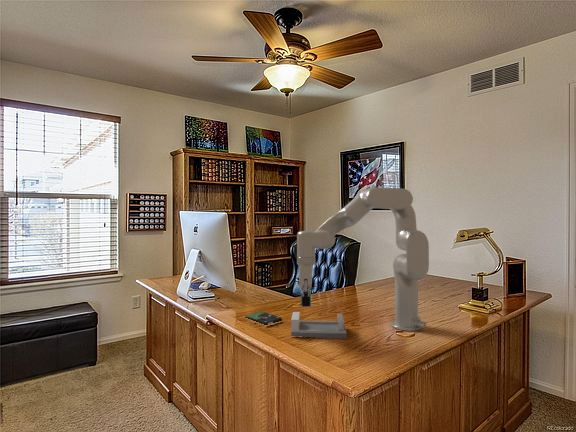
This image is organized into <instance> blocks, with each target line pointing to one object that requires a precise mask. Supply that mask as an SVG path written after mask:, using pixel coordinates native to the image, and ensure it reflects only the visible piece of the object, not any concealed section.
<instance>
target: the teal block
mask: <svg viewBox="0 0 576 432" xmlns="http://www.w3.org/2000/svg"><path fill="white" fill-rule="evenodd" d="M302 296H303V290H301V291H300V306H301V308H304V307H305V308H311V307H312V291H311V290H310V291H309V296H310V306H302Z"/></svg>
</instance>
